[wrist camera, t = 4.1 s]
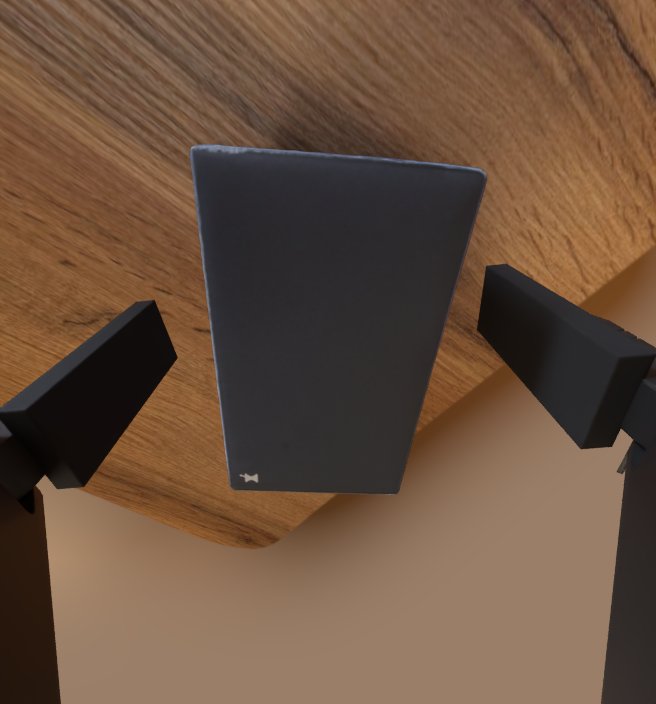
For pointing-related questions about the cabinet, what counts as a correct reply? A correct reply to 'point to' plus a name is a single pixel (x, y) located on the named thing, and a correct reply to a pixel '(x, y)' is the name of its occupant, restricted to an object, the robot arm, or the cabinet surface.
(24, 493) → the robot arm
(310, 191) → the small box
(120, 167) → the cabinet surface
